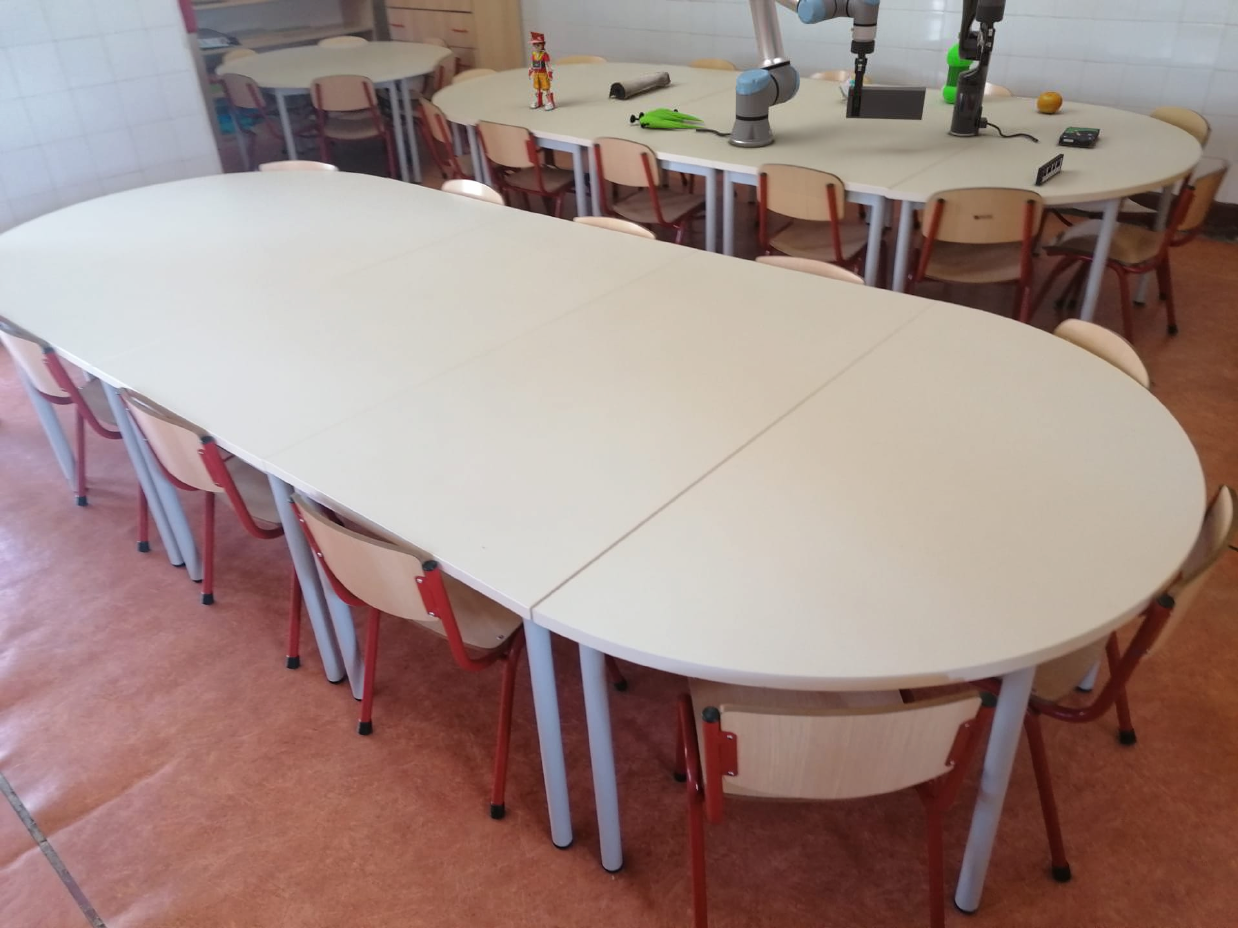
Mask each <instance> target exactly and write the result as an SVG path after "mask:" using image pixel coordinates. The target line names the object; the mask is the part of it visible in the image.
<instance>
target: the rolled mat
mask: <svg viewBox="0 0 1238 928" xmlns="http://www.w3.org/2000/svg"><path fill="white" fill-rule="evenodd" d="M671 83H672V81H671V77H670V74H669V72H668V71H658V72H654V73H649V74H645V75H640V76H637V77H633V78H628V79H623V80H620V81H616V82H613V83H612V84H611V85H610V89H609V95H608V97H609V98H611V97H616V99H620V100H622V101H623V100H626V99H627V98H629V97H630V96H632V95H635V94H636V93H638V92H640V91H643V90H644V89H647V88H650V87H655V86H658V87H659V86H661V87H665V86H669V85H670V84H671Z"/></svg>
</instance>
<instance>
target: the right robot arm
mask: <svg viewBox="0 0 1238 928" xmlns="http://www.w3.org/2000/svg"><path fill="white" fill-rule="evenodd" d="M1006 3H1007V0H962V12H961V23H960V30H959V32H960V37H959V38H958V43H959V45H958V56H959V58H960V59H961V60H967V61H973V62H978V63H977V65H976V66H975V67H972V68H971V69H970V68H969V70H966V71H963V72H961V73H960V74H959V77H958V83H957V90H956V96H955V103H953V110H952V115H951V124H950V129H949V134H950V135H952V136H956V137H973V136H979V131H980V129H987V128H988V126H990V127H992V128H994V129H996V130H997V131H998V133H999V135H1000V137H1002V138H1006V139H1007V138H1015V137H1020V136H1021V137H1027V138H1030V139H1031V140H1033V141H1034V142H1036V143H1037V142H1039V139H1037V138H1036V137H1034V136H1033V135H1031V134H1029V133H1014V134H1010V135H1009V134H1008V135H1005V134H1003V132H1002V130H1001V128H1000V127H999V126H997V125H996V124H994V123H992V122H988V119H987V117H986V116H983V117H982V115H983V109H984V107H983V102H984V96H985V90H986V83H987V79H988V73H989V67H990V63H991V58H992V54H993V49H994V44H995V35H996V32H997V30H996V28H995V27H994V26H995V23H1000V22H1002V21H1003V19H1004V15H1005V10H1006V5H1007V4H1006ZM975 21H976V22H977V23H979V29H978V30H973V25H974V22H975Z"/></svg>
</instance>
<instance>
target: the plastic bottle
mask: <svg viewBox="0 0 1238 928" xmlns="http://www.w3.org/2000/svg"><path fill="white" fill-rule="evenodd" d="M959 37H960V31H959V32H958V36H957V39H959ZM958 45H959V42H957V43H956V44H954V45H953V46H952V47H951V48H950V49H949V50H948V52H947V54H946V63H947V64H948V69H947V70H948V71H947V76H946V77H947V78H946V84H945V85H944V87H943V90H942V97H943V99H944V100H945V101H946V102H947V103H948V104H954V103H955V96H956V90H957V83H958V77H959V74H960V73H961V72H963V71H966V70H970V67H971V65H972V64H973V63H974V61H967V60H961V59H960V58H959V56H958Z"/></svg>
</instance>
